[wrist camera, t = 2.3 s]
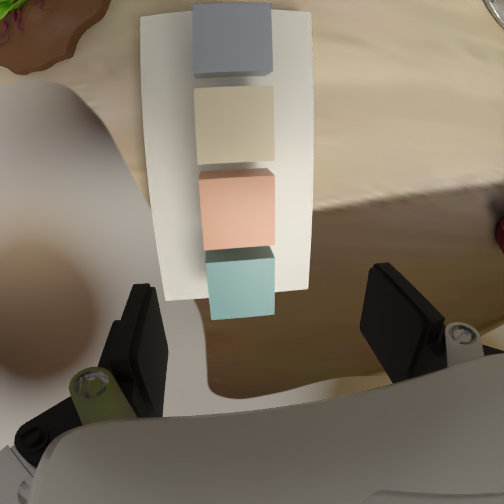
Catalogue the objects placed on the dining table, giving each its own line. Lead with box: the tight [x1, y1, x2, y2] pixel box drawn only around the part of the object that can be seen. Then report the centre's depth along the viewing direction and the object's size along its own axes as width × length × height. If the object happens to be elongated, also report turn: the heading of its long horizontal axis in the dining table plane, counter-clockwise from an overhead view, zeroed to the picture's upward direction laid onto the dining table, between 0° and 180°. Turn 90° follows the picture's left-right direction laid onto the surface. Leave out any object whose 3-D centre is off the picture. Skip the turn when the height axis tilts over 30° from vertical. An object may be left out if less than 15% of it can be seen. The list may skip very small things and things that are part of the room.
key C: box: [199, 168, 275, 250], centre depth 24 cm, size 5×5×6 cm
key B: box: [194, 86, 275, 165], centre depth 22 cm, size 5×5×6 cm
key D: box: [205, 246, 275, 320], centre depth 27 cm, size 5×5×6 cm
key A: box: [192, 2, 273, 79], centre depth 19 cm, size 5×5×6 cm
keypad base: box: [140, 9, 314, 301], centre depth 27 cm, size 26×14×3 cm, turn 2°
